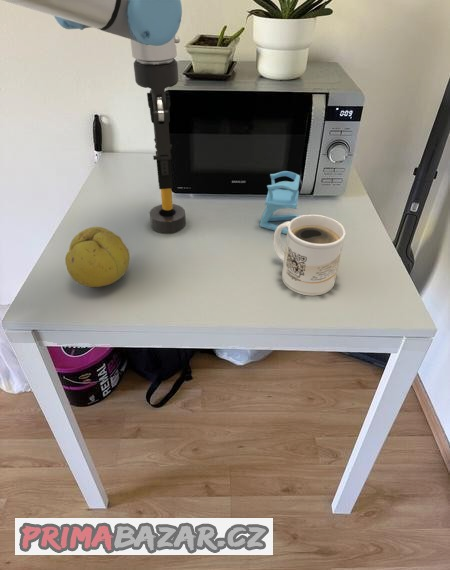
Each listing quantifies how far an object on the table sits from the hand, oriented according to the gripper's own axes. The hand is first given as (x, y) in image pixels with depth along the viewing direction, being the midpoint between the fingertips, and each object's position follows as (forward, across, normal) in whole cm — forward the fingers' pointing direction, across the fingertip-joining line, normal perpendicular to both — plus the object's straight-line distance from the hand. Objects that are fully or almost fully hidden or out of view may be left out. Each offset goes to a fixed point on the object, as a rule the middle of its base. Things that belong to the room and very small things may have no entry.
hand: (165, 184), depth 91 cm
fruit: (+10, -18, +14) cm, 24 cm away
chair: (+10, -4, -24) cm, 26 cm away
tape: (+9, 0, 0) cm, 9 cm away
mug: (+10, -22, -24) cm, 34 cm away
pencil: (+5, 0, 0) cm, 5 cm away
